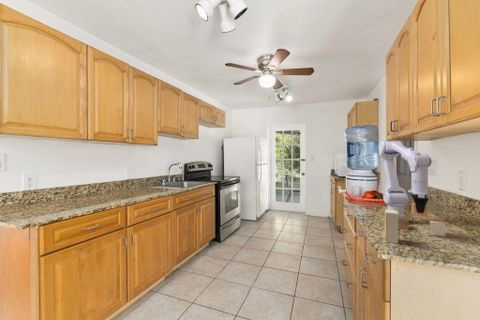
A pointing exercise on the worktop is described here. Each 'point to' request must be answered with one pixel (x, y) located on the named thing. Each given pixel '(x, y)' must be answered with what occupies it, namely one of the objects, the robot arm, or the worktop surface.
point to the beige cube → (437, 228)
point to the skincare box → (391, 226)
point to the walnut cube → (403, 223)
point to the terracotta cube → (419, 213)
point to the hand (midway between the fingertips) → (419, 211)
